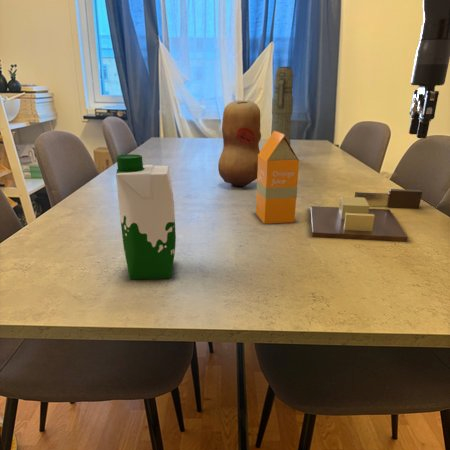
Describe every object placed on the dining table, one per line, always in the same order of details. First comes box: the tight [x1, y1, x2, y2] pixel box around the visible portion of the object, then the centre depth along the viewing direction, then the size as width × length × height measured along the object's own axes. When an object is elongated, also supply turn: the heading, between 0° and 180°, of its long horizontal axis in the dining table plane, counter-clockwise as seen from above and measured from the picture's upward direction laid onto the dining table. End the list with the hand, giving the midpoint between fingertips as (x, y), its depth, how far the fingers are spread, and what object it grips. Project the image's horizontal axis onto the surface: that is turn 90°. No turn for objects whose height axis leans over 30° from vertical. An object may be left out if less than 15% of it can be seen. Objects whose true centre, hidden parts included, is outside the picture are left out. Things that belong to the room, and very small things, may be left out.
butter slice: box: [344, 213, 375, 231], centre depth 95 cm, size 6×2×4 cm, turn 81°
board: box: [310, 205, 409, 243], centre depth 103 cm, size 20×22×1 cm
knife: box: [353, 188, 423, 210], centre depth 117 cm, size 17×2×4 cm, turn 81°
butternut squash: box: [217, 100, 262, 187], centre depth 134 cm, size 14×13×25 cm
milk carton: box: [115, 153, 177, 280], centre depth 73 cm, size 9×9×20 cm
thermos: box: [271, 66, 294, 145], centre depth 184 cm, size 9×12×35 cm
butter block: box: [338, 196, 370, 219], centre depth 106 cm, size 6×8×4 cm
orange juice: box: [255, 131, 300, 225], centre depth 103 cm, size 8×9×20 cm
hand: (417, 136), depth 109 cm, fingers open, 8 cm apart
